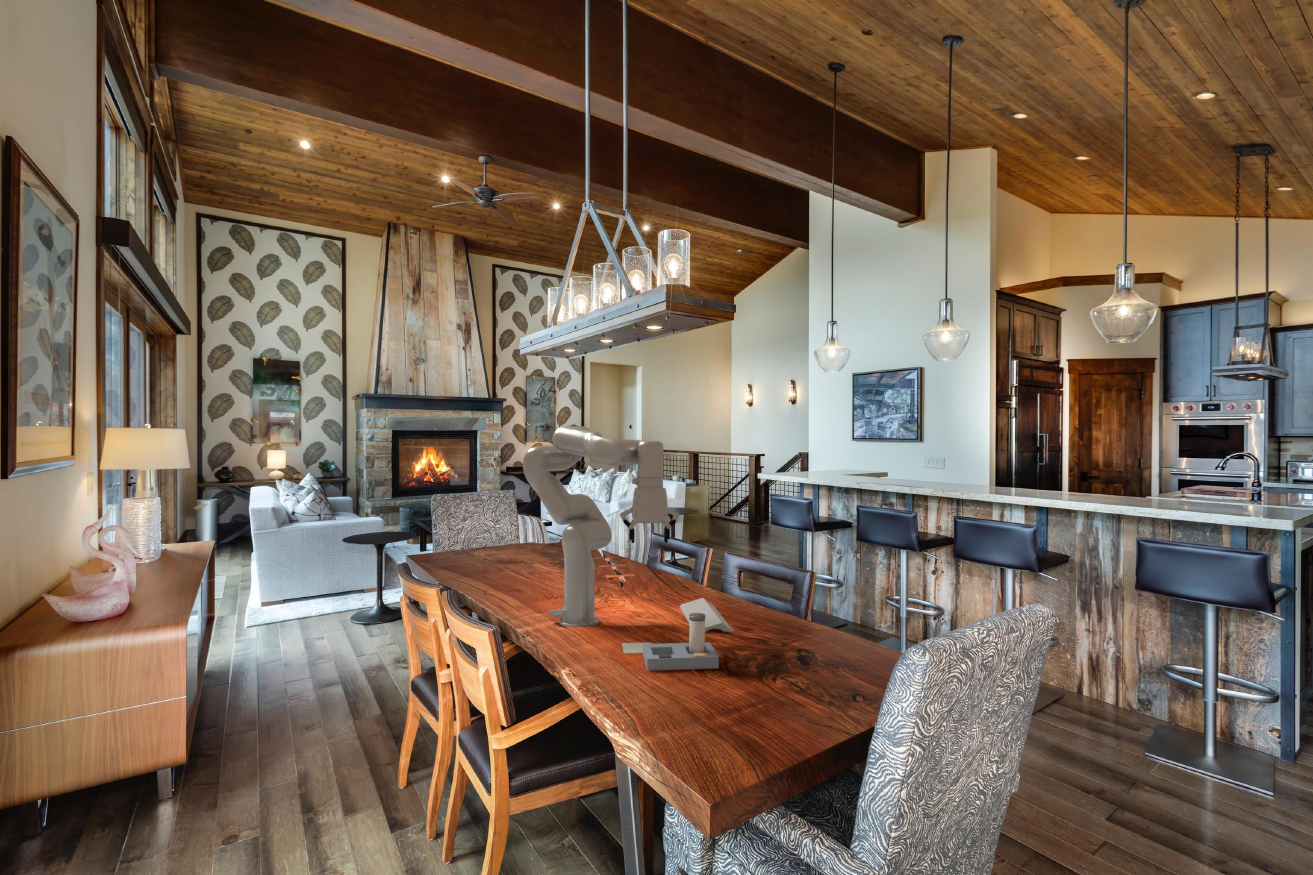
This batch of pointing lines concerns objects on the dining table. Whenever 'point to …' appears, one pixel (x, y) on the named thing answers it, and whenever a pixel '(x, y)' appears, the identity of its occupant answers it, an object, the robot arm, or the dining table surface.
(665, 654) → the socket block
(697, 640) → the plug
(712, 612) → the crown molding
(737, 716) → the dining table surface
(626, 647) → the square base plate
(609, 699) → the dining table surface
